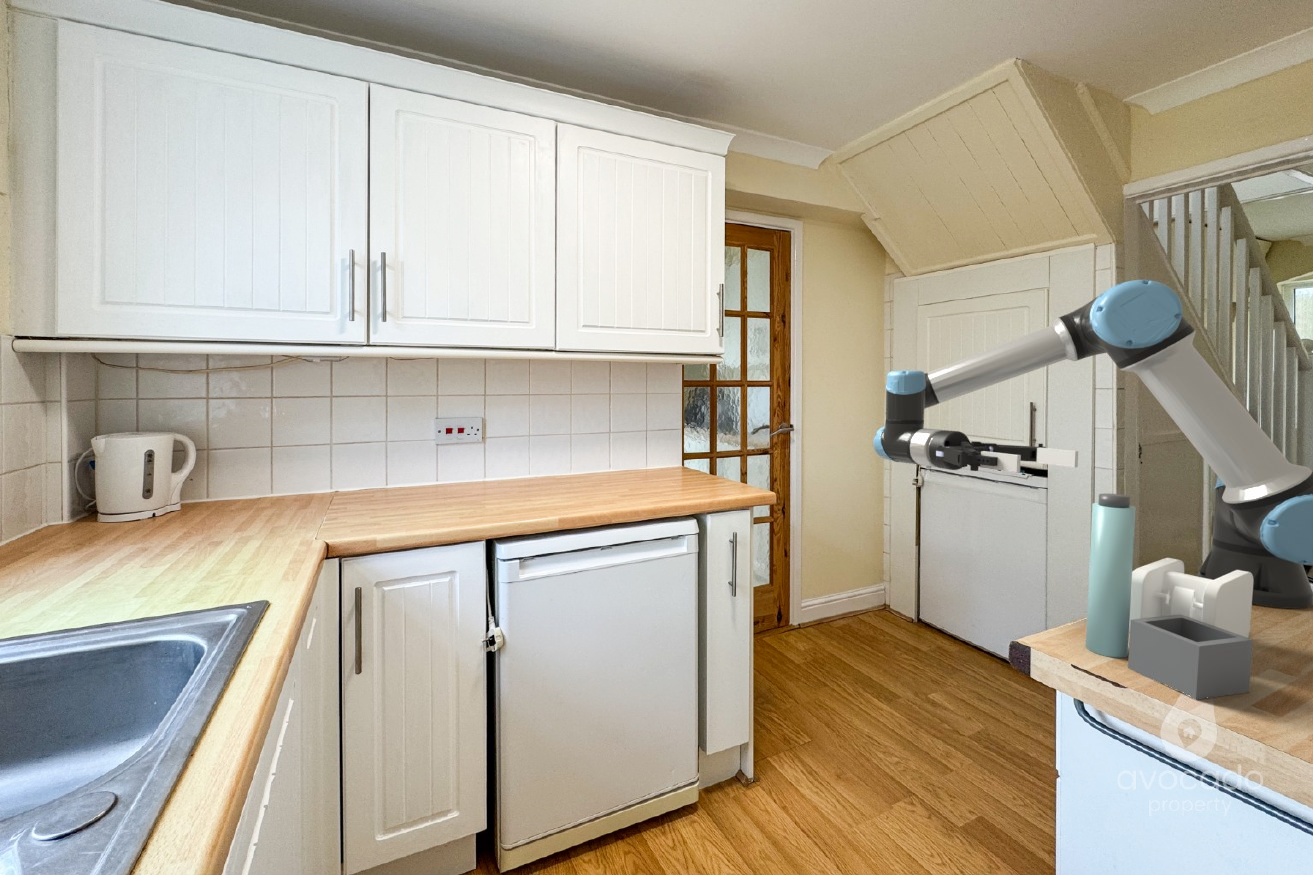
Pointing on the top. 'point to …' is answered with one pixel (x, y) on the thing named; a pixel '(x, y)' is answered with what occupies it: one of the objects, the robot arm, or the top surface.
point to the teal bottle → (1110, 575)
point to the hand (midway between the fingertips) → (1048, 461)
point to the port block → (1190, 656)
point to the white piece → (1192, 596)
